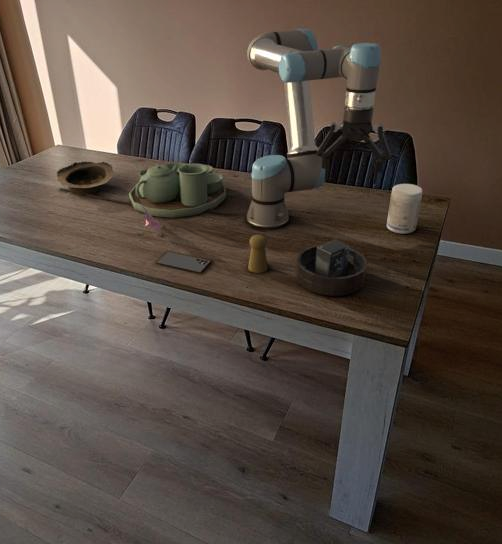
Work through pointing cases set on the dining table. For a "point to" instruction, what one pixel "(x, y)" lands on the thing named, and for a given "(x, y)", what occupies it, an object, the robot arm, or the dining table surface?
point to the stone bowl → (85, 176)
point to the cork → (258, 254)
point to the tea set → (178, 190)
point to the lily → (151, 221)
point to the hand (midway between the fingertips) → (349, 180)
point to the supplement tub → (404, 208)
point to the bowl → (331, 284)
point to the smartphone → (183, 262)
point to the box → (332, 259)
